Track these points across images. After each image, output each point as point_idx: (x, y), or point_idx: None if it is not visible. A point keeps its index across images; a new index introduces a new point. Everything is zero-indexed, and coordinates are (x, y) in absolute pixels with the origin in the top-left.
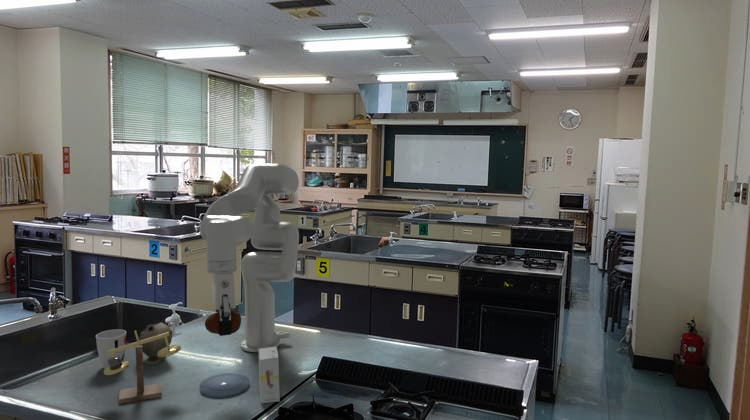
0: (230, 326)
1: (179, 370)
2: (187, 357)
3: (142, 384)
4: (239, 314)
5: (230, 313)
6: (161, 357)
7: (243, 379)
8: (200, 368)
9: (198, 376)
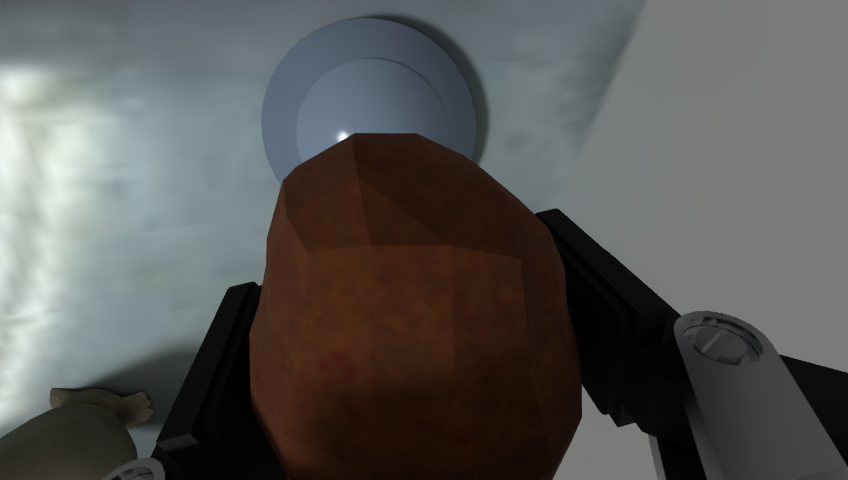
0: (600, 259)
1: (202, 320)
2: (48, 325)
3: None
4: (434, 218)
5: (816, 416)
6: (105, 401)
7: (346, 51)
8: (173, 257)
9: (261, 249)
